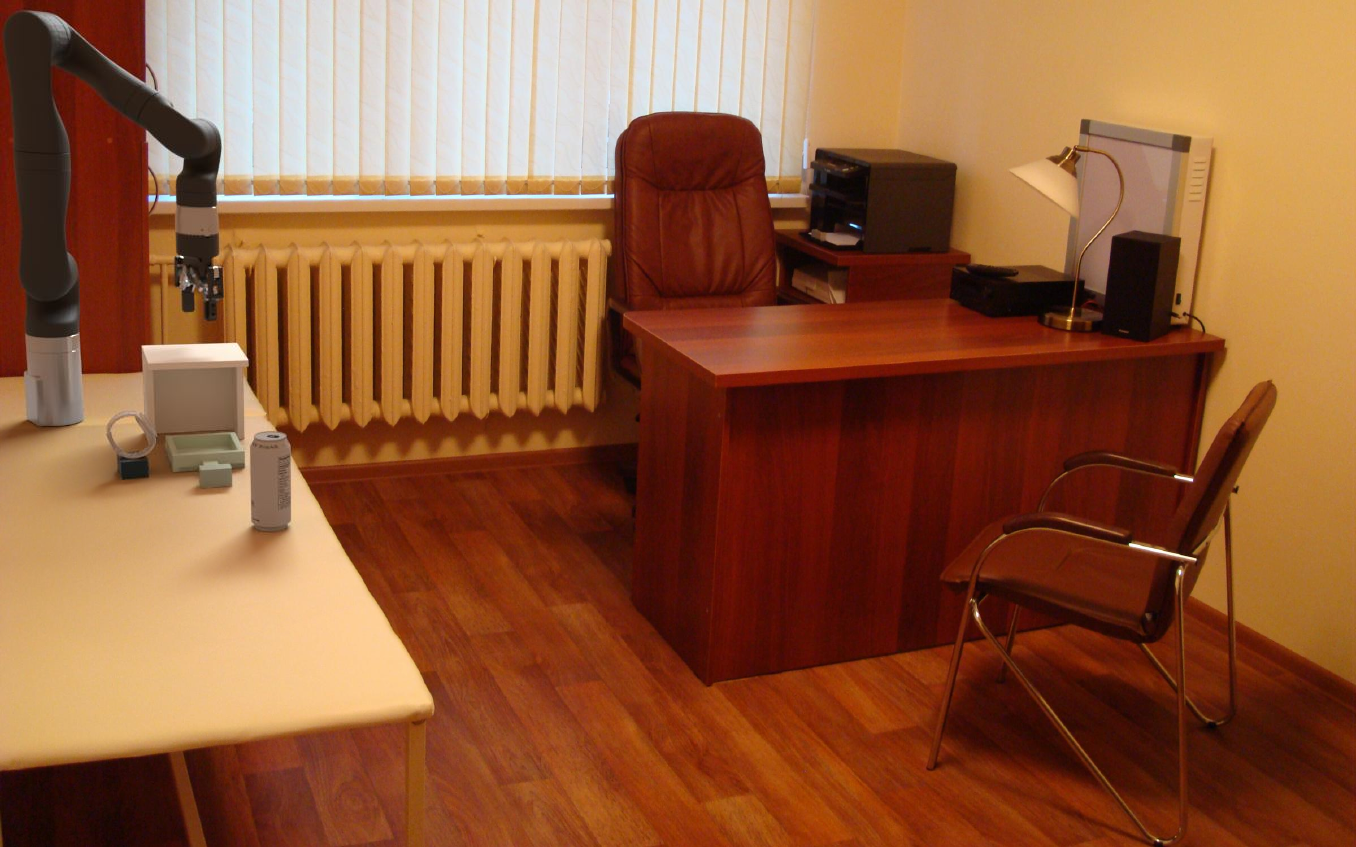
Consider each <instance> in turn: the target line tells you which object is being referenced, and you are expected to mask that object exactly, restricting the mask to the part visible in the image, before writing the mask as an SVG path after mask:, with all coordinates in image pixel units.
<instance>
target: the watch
mask: <svg viewBox="0 0 1356 847" xmlns="http://www.w3.org/2000/svg"><path fill="white" fill-rule="evenodd" d="M126 417H134V419H135V421H136V422H137V424H138V425H139V426H138V427H140V428H141V430H142V431H143V432H144V434H145V436H146V435H147V437H148V438H150V439H151V441H150V443H149V444H148V445H147V446H145V447H144V449H142V450H136V451H123V450H122V448H121V447H120V446H119V445H118V444H117V443H116V441H115V440H114V438H113V435H112V431H111V430H112V428H113V426H114V424H116V422H118V421H119V420H121V419H124V418H126ZM106 437H107V440H108V442H109V444H110V446H111V447H112V449H113V450H114V452H115V453H116V462H117V464H116V465H117V471H118V474H119V476H120V479H121V480H132V479H133V480H135V479H145V478H146V479H147V478H150V469H149V466H150V465H149V458H148V457H147V455H148V454H149V453H151V452H152V450H153V449H154V447H155V445H156V444H157V440H156V437H158V433H156V431H155V430H154V428H153V427H152V425H151V424H150V422H149V421H148V419H147V418H146V417H145V416H144V413H143V411H142V412H141V411H140V412H137V411H136V410H125V411H121V412H119V413H117V414H115V415H114V416H113V417H112V418H111V419H110V420H109V421H108V423H107V427H106ZM147 437H146V438H147ZM155 443H156V444H155Z"/></svg>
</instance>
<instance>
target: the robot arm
mask: <svg viewBox="0 0 1356 847" xmlns="http://www.w3.org/2000/svg"><path fill="white" fill-rule="evenodd" d="M2 46H3V52H4V58H5V63H6V64H5V65H6V70H7V76H8V77H7V78H8V84H9V88H10V102H11V103H10V104H11V120H12V132H13V135H12V136H13V138H12V139H13V146H12V148H13V167H14V176H15V177H14V178H15V188H16V195H17V196H16V198H17V204H18V211H19V218H20V219H19V220H20V247H19V249H20V250H19V262H18V272H17V273H18V274H17V275H18V280H19V282H20V285H21V287H22V289H23V290H24V291H25V298H26V299H25V300H26V306H25V307H26V308H25V316H24V334H25V336H24V337H25V347H26V349H25V350H26V363H27V370H25V371H24V372H23V377H24V392H25V394H24V395H25V408H26V410H25V411H26V419H27V420H28V421H29V422H30V423H31V422H32V424H34V425H35V426H37V427H44V426H45V427H61V426H67V425H69V426H70V425H74V424H79V423H81V422H82V421H83V420H84V419H85V415H84V412H85V411H84V410H85V409H84V392H83V374H82V358H81V338H80V337H81V336H80V316H81V300H80V298H81V297H80V296H81V295H80V274H79V273H80V272H79V268H78V265H77V261H76V260H75V259H74V257H73V255H72V254H71V253H69V252H68V247H67V245H68V244H67V236H66V220H67V219H66V218H67V210H68V205H69V199H70V192H71V191H70V190H71V180H72V177H71V176H72V169H71V168H72V165H71V148H70V146H71V145H70V141H69V140H70V139H69V137H68V133H67V130H66V127H65V125H64V123H63V120H62V119H61V115H60V114H59V111H58V109H57V106H56V103H55V99H54V94H53V87H52V85H53V84H52V83H53V82H52V66H53V67H55V68H58V69H60V70H63V71H64V72H67V73H68V74H70V75H73V76H75V77H76V78H78V79H80V81H82V82H84V83H85V84H86V85H88V87H90V88H92V89H93V91H95V92H96V94H98V96H100V97H101V98H102V100H103V101H104V102H105V103H106V104H107V105H109V107H111V108H112V109H113V110H114V111H116V112H118V113H119V114H120V115H122V116H123V117H125V118H126V119H128V120H129V121H130V122H132V123H134V124H136V125H137V126H139V127H140V128H141V129H144V130H146V132H148V133H150V135H151V136H152V137H153V138H154V139H155V140H157V142H159V143H160V144H161V145H162V146H163V147H164V148H165V149H167V150H168V151H169V152H171V153H172V154H174V155H176V156H177V157H180V158H182V159H183V164H182V165H183V166H182V170H181V171H180V172H179V174H178V175H177V177H176V180H175V214H174V215H175V216H174V224H175V253H176V256H174V258H173V259H174V260H173V261H174V262H173V263H174V264H173V265H174V267H173V269H174V271H173V272H174V276H173V277H174V280H173V282H174V286H175V288H178V290H179V293H181V311H182V312H183V313H194V312H195V310H196V308H195V306H196V304H195V292H194V291H195V289H196V288H197V291H199V292H200V293H201V296H202V298H203V320H204V321H206V322H215V321H217V320H218V313H217V312H218V310H217V308H218V307H217V304H218V301H219V300H223V299H225V295H224V293H225V292H224V273H223V271H224V270H223V267H222V266H214V263H213V258H216V257H218V256H219V255H220V224H219V223H220V222H219V220H220V219H219V213H218V198H217V197H218V195H217V194H218V193H217V192H218V190H217V189H218V188H217V178H218V175H219V170H220V165H221V164H220V163H221V157H222V150H223V149H222V148H223V147H222V137H221V133H220V131H219V129H218V128H217V126H216V125H215V124H214V123H213V121H211V120H209V119H206V118H199V117H198V118H189V117H187V116H186V115H184V114H182V113H181V112H180V111H179V110H177V109H175V107H174V104H173V102H172V101H171V100H170V99H169V98H167V97H166V96H165V95H164V94H162V93H161V92H159V91H158V90H156V89H155V88H153V87H152V86H150V85H148V84H147V83H146V82H144V81H142V80H141V79H139V78H138V77H136V76H134V75H133V74H131V73H130V72H129V71H127V70H125V69H124V68H122V67H121V66H119V65H118V64H117V63H115V62H114V61H112V60H111V59H109V58H108V57H107V56H106V55H104V54H103V53H102V52H100V51H99V50H98V49H97V48H96V47H95V46H93V45H92V44H90V42H88V41H87V40H86V39H85V38H84V37H83V36H82V35H81V34H80V33H79V32H77V31H76V30H75V29H74V28H73V27H72V26H70V25H69V23H67V22H66V21H65V20H64V19H62V18H61V17H59V16H58V15H56V14H55V13H50V12H46V11H37V10H19V11H15V12H13V13H12V14H10V15H9V17H7V19H6V20H5V23H4V26H3V29H2Z"/></svg>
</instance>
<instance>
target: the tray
mask: <svg viewBox="0 0 1356 847" xmlns="http://www.w3.org/2000/svg"><path fill="white" fill-rule="evenodd" d="M165 452H166V455H167V458H168V461H169V464H170V466H171V470H172V472H173V473H178V472H179V473H180V472H195V471H197V472H198V475H199V486H200V488H201V489H205V488H206V489H209V488H218V487H219V488H221V487H222V488H223V487H233V469H237V468H245V467H246V456H245V455H246V454H245V453H246V451H245V449H244V447H243V445H242V442H241V441H240V439H238V437H237V435H236V433H235V432H234V431H231V432H230V431H229V432H213V433H212V432H211V433H196V434H194V433H193V434H178V435H177V434H175V435H165Z"/></svg>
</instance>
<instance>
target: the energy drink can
mask: <svg viewBox="0 0 1356 847" xmlns="http://www.w3.org/2000/svg"><path fill="white" fill-rule="evenodd" d="M291 450H292V449H291V444H290V442H289V440H288V438H287V434H286V433H284V432H282V431H278V430H277V431H276V430H275V431H274V430H273V431H272V430H266V431H260V432H259V431H258V432H257V433H255V434H254V435H253V440H252V442H251V443H250V445H249V463H250V464H249V471H250V472H249V473H250V517H251V518H250V521H251V523H252V524H253V526H254V528H255V529H256V530H258V531H261V532H270V533H271V532H278V531H282V530H285V529H286V528H287V527H288V525H289V523H291V521H292V478H291V477H292V475H291V474H292V469H291V468H292V464H291V463H292V458H291V456H292V455H291V453H292V452H291Z"/></svg>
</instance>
